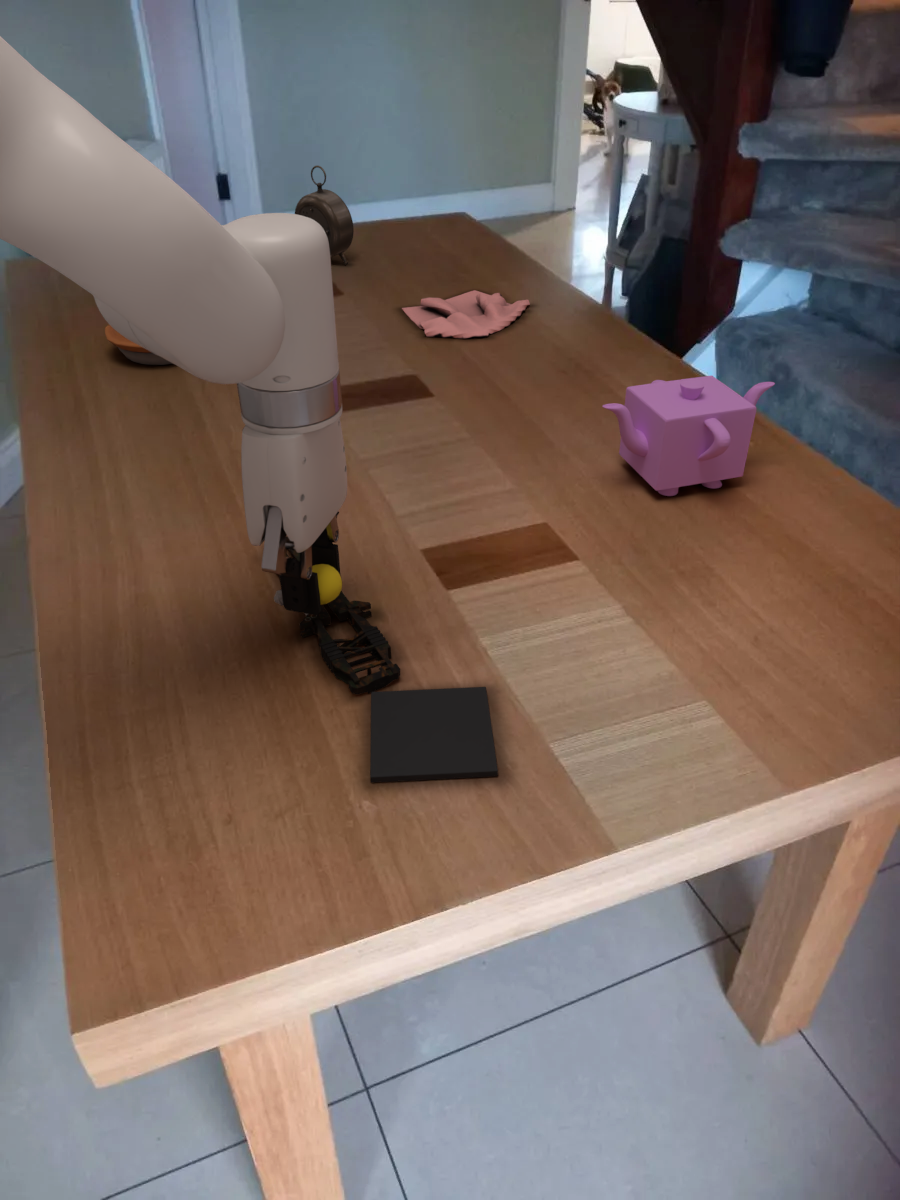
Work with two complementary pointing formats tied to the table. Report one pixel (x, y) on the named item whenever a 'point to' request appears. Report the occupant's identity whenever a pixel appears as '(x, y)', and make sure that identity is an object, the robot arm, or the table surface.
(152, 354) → the pie
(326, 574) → the light bulb
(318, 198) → the alarm clock
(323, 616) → the knife
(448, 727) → the coaster
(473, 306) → the cloth
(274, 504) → the robot arm
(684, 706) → the table surface
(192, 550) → the table surface
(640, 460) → the teapot
